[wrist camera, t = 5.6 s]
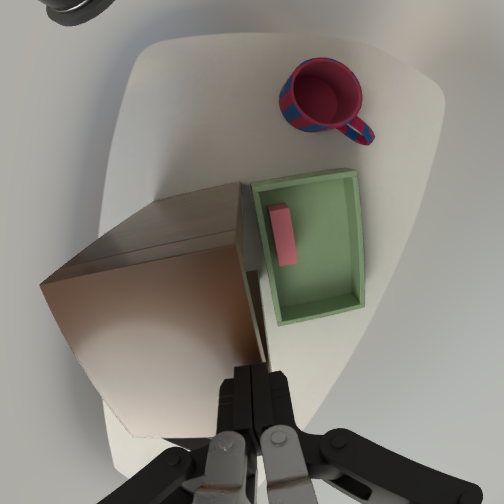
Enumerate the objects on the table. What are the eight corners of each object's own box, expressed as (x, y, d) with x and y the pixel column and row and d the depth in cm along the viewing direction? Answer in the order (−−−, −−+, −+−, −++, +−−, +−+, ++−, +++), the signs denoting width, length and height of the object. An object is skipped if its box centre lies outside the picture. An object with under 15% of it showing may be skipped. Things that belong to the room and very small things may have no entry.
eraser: (284, 202, 31) (266, 205, 31) (289, 207, 28) (269, 211, 28) (293, 252, 33) (276, 256, 33) (298, 262, 30) (279, 266, 30)
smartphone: (205, 456, 48) (140, 428, 44) (205, 453, 48) (141, 425, 44) (226, 444, 46) (157, 414, 42) (226, 441, 47) (158, 410, 43)
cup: (308, 64, 26) (325, 44, 19) (368, 129, 29) (397, 126, 22) (265, 100, 27) (272, 87, 21) (329, 166, 30) (351, 171, 24)
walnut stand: (152, 201, 31) (38, 284, 11) (239, 181, 30) (235, 244, 11) (180, 295, 35) (132, 437, 15) (259, 281, 35) (279, 430, 15)
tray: (250, 183, 30) (251, 187, 27) (345, 167, 30) (356, 170, 27) (274, 311, 36) (277, 326, 33) (355, 293, 36) (364, 307, 32)
